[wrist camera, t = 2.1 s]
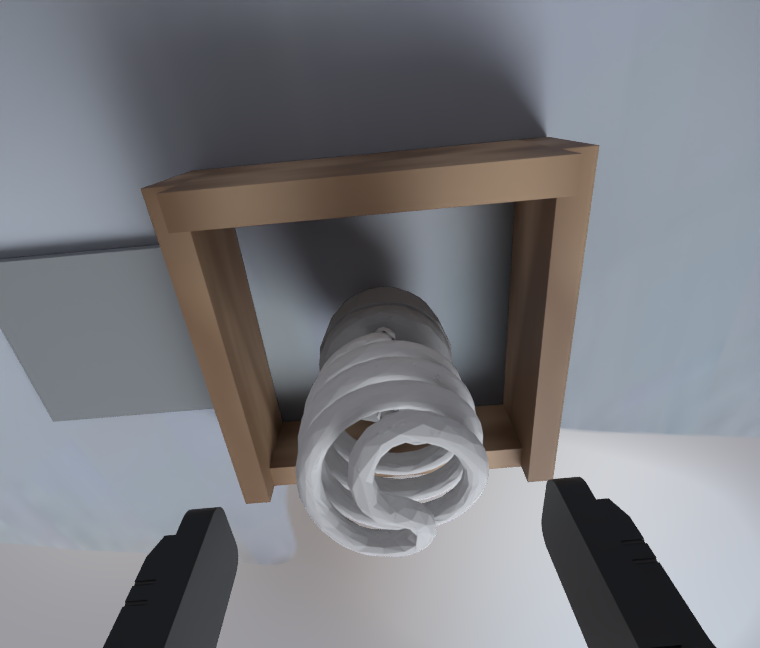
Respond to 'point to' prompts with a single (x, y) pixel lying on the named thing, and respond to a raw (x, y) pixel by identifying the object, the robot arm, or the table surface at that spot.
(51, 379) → the slate mat
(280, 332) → the table surface
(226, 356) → the wooden frame
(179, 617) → the robot arm
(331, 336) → the light bulb
